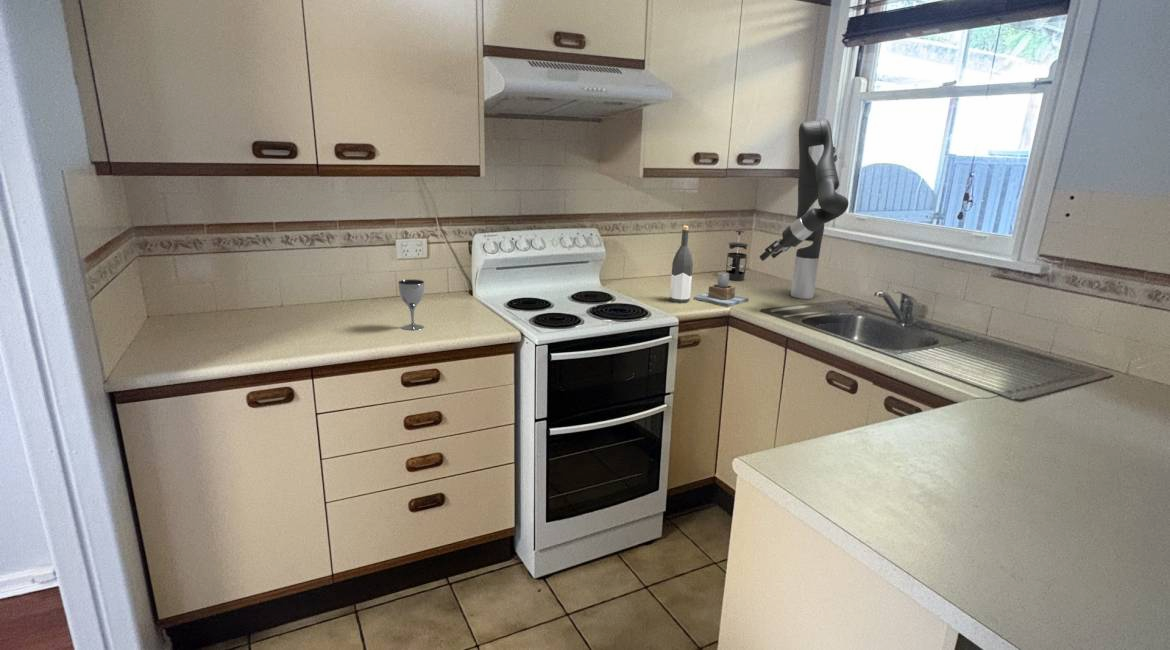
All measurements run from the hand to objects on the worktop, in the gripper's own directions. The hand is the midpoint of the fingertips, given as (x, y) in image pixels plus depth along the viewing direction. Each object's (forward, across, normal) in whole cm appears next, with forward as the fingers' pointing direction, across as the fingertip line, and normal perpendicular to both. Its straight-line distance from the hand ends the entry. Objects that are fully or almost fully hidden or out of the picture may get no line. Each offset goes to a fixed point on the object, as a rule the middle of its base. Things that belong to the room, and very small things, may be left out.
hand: (766, 257), depth 244 cm
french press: (+40, -38, -11) cm, 56 cm away
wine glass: (+54, +121, -28) cm, 135 cm away
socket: (+25, +4, +3) cm, 26 cm away
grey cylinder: (+24, +4, +2) cm, 25 cm away
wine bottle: (+32, +19, -4) cm, 38 cm away
